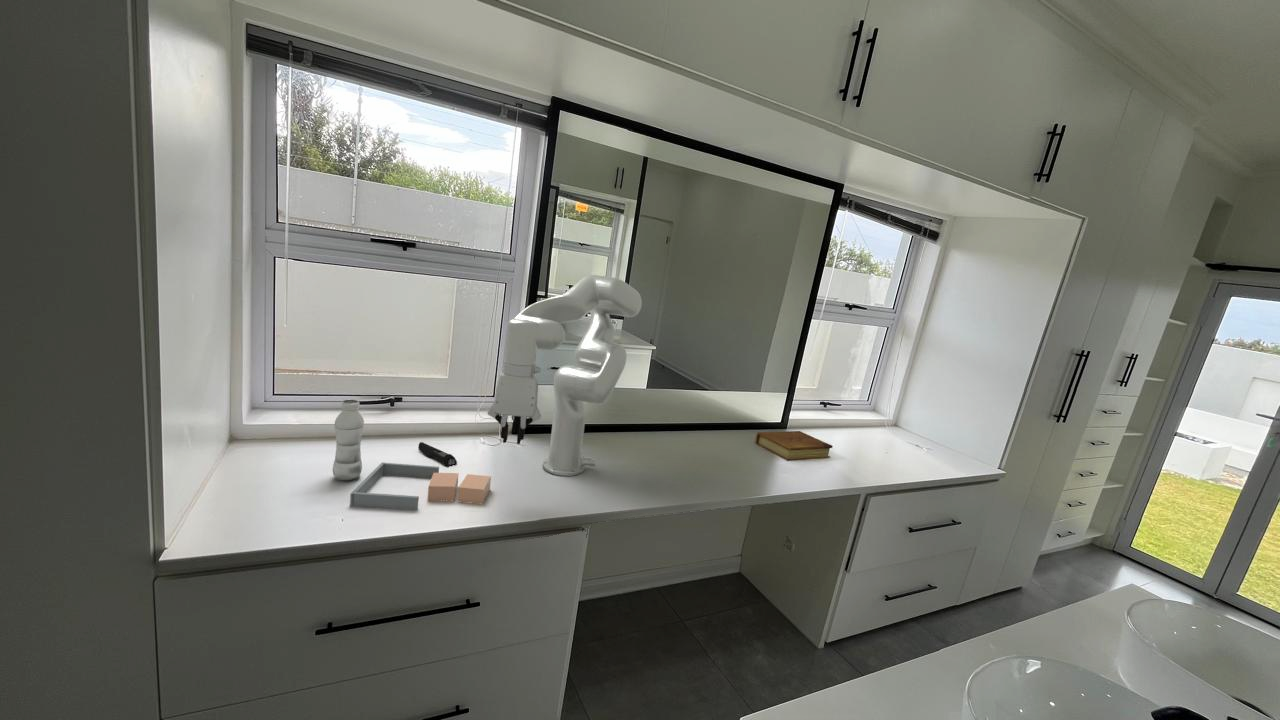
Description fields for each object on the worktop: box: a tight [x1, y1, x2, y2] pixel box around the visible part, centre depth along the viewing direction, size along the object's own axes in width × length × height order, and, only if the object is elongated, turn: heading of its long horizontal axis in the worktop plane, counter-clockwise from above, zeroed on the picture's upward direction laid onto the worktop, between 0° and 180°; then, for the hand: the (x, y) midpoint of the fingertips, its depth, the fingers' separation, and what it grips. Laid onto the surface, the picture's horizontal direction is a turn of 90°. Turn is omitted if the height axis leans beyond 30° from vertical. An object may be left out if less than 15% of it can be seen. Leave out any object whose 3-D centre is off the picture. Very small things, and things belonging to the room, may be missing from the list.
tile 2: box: [456, 473, 492, 505], centre depth 123 cm, size 6×8×4 cm
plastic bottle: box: [332, 399, 365, 481], centre depth 122 cm, size 6×7×20 cm
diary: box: [754, 430, 834, 462], centre depth 197 cm, size 23×19×6 cm
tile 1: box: [427, 472, 460, 502], centre depth 122 cm, size 6×8×4 cm
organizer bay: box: [349, 462, 440, 511], centre depth 120 cm, size 14×18×3 cm
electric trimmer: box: [418, 441, 458, 468], centre depth 143 cm, size 4×16×3 cm, turn 56°
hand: (512, 440), depth 122 cm, fingers open, 2 cm apart
